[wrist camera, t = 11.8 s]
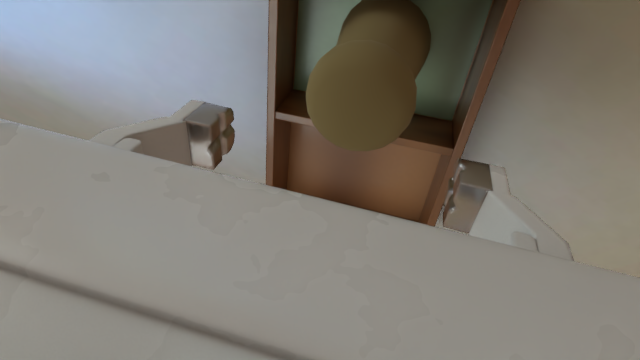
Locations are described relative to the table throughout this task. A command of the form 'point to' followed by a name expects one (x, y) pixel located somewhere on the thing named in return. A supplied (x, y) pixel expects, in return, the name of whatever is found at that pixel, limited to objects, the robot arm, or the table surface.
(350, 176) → the tray
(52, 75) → the table surface
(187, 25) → the table surface
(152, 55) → the table surface
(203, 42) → the table surface
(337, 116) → the olive pawn
